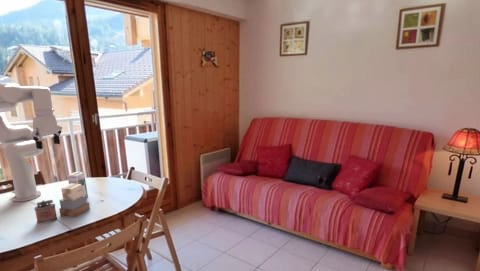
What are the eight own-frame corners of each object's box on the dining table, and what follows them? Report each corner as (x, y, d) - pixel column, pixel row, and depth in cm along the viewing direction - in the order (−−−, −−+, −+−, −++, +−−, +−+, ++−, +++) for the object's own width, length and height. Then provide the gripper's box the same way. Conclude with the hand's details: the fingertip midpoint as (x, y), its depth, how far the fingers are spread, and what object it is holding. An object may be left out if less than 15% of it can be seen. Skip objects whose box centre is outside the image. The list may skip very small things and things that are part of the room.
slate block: (60, 207, 136) (59, 200, 135) (75, 200, 144) (74, 193, 143) (72, 210, 133) (71, 202, 133) (87, 203, 141) (85, 195, 140)
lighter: (36, 224, 129) (32, 204, 126) (38, 221, 132) (34, 201, 130) (56, 220, 132) (53, 200, 130) (58, 217, 135) (54, 197, 133)
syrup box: (80, 200, 152) (76, 175, 149) (71, 200, 153) (67, 175, 150) (88, 196, 158) (84, 171, 154) (79, 195, 159) (75, 171, 156)
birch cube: (63, 199, 136) (61, 188, 135) (73, 194, 142) (71, 183, 140) (73, 200, 134) (71, 189, 133) (83, 195, 140) (81, 184, 139)
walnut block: (60, 216, 136) (59, 208, 135) (75, 207, 145) (74, 200, 144) (75, 218, 134) (74, 210, 133) (90, 209, 142) (88, 202, 142)
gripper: (53, 109, 147) (57, 141, 151) (20, 114, 131) (26, 150, 135) (65, 110, 145) (69, 142, 149) (33, 115, 129) (38, 151, 133)
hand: (48, 146), depth 142 cm, fingers open, 9 cm apart
